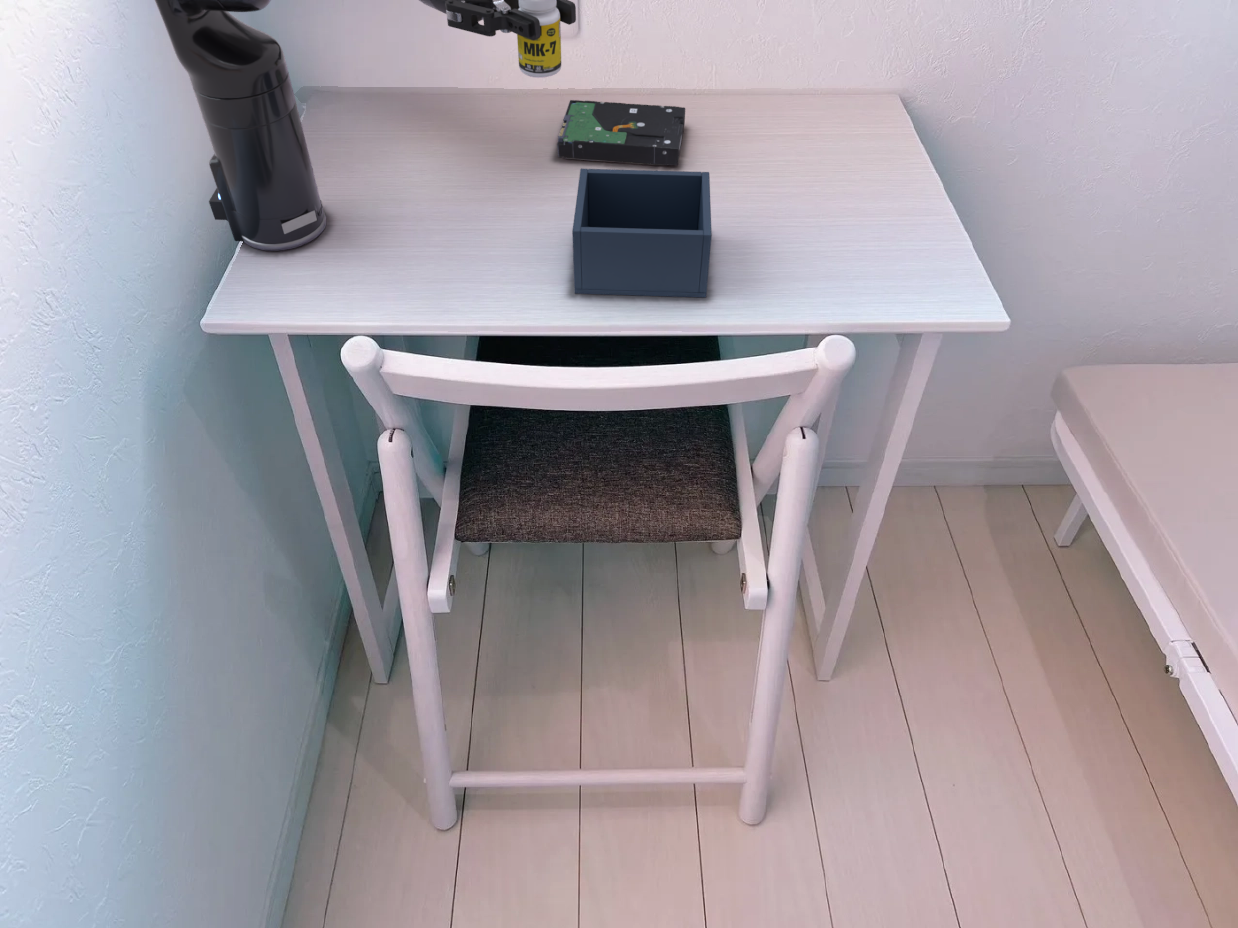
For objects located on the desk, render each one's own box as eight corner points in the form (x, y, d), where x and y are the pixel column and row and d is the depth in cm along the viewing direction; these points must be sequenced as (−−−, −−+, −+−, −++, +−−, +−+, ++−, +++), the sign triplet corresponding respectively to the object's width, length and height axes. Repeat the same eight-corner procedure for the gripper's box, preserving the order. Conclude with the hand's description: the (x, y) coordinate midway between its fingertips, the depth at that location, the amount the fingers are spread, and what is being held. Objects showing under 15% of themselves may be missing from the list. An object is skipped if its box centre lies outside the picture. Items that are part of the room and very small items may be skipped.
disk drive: (684, 127, 125) (569, 118, 126) (685, 106, 123) (568, 97, 124) (678, 169, 118) (556, 160, 119) (680, 148, 116) (556, 139, 117)
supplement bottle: (521, 80, 108) (516, 2, 102) (517, 60, 111) (512, -16, 105) (564, 77, 109) (561, 0, 102) (559, 58, 112) (556, -19, 106)
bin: (574, 293, 101) (572, 231, 96) (582, 229, 109) (580, 168, 104) (706, 297, 101) (711, 235, 95) (704, 233, 109) (709, 171, 103)
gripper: (395, -39, 106) (504, 7, 98) (493, -75, 113) (601, -34, 105) (405, 30, 111) (509, 79, 103) (498, -8, 118) (601, 36, 111)
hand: (555, 22), depth 104 cm, fingers closed on supplement bottle, 4 cm apart
